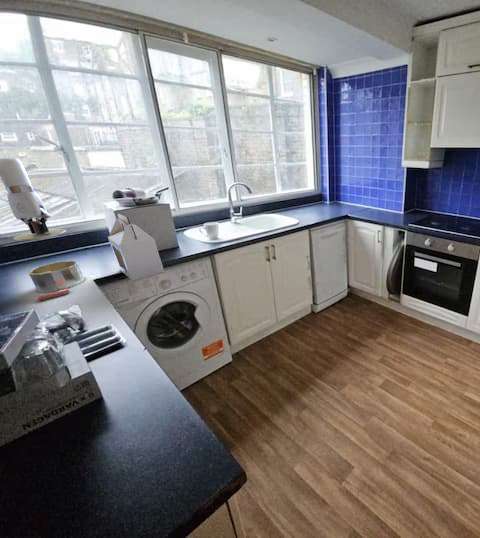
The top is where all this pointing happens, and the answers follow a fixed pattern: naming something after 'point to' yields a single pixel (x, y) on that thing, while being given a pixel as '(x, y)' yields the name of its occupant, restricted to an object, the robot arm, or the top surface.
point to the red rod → (53, 294)
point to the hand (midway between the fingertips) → (40, 232)
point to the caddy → (56, 276)
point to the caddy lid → (37, 233)
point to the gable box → (134, 250)
